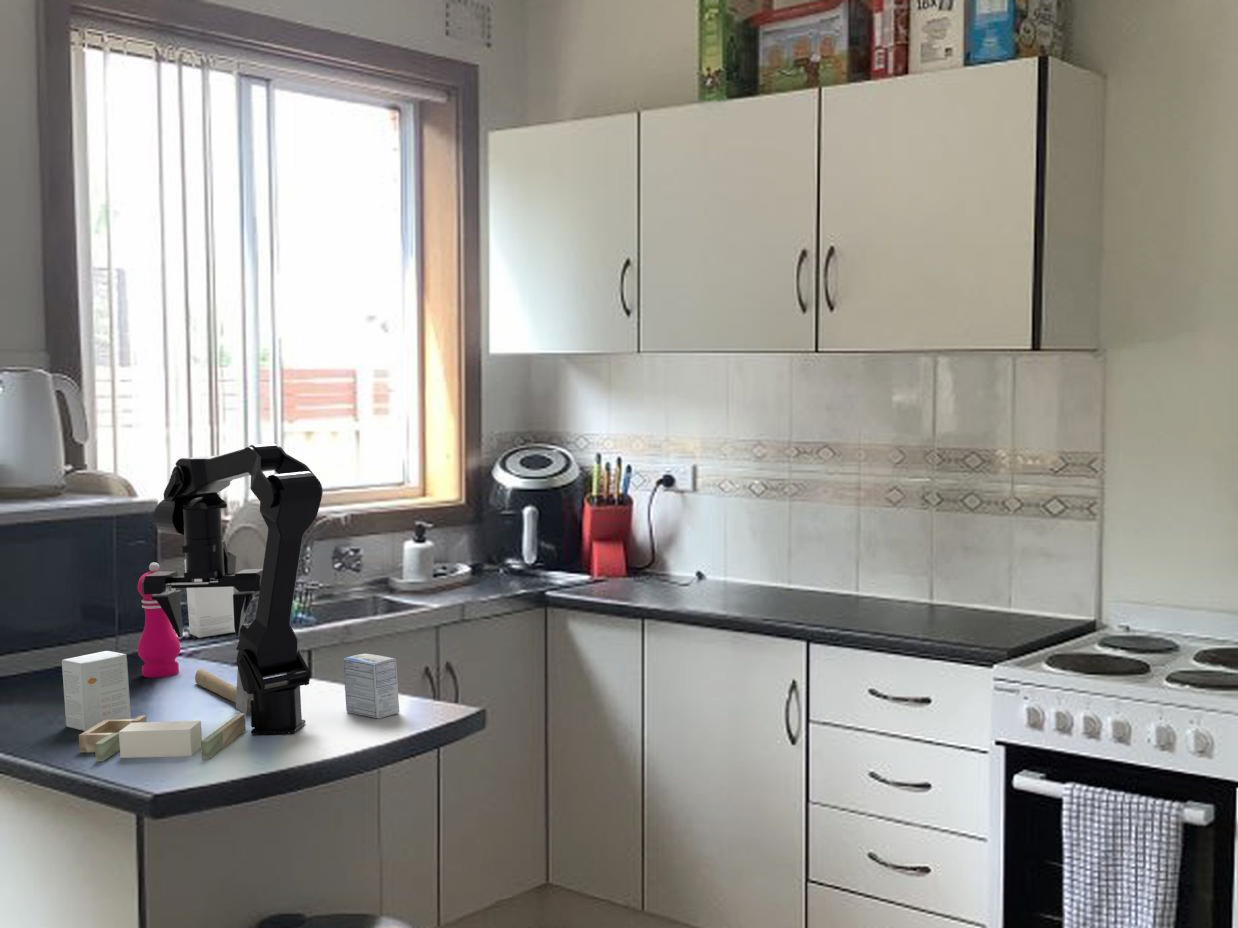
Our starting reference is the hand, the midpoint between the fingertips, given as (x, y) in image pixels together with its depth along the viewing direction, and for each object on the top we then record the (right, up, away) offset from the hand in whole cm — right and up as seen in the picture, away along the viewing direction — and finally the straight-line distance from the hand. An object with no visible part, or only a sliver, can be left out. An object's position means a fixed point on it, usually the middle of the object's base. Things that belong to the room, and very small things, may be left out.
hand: (209, 636), depth 233 cm
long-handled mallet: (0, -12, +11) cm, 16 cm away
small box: (-16, -13, -4) cm, 21 cm away
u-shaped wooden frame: (-2, -14, -19) cm, 23 cm away
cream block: (0, -14, -23) cm, 27 cm away
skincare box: (-19, -8, +71) cm, 74 cm away
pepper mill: (-17, -11, +32) cm, 38 cm away
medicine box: (+26, -12, -4) cm, 29 cm away
